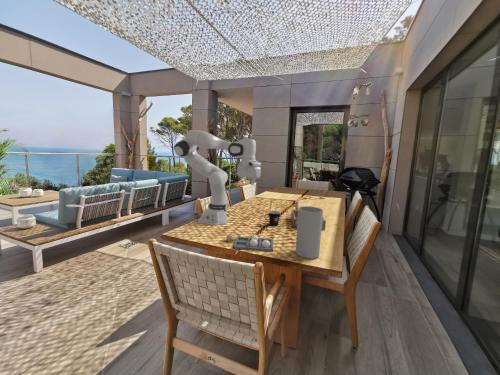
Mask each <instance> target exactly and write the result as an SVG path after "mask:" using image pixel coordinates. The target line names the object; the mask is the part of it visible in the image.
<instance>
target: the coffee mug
mask: <svg viewBox="0 0 500 375" xmlns="http://www.w3.org/2000/svg"><path fill="white" fill-rule="evenodd" d="M266 216H268V218H269V219H267V218H266ZM263 217H264V219H265V220H266V221H267V222H268V223H269V226H271V227H278V226H279V223H280V217H281V212H280V211H279V210H269V211H268V213H266V214H265V215H264V216H263Z"/></svg>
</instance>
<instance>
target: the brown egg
mask: <svg viewBox="0 0 500 375" xmlns="http://www.w3.org/2000/svg"><path fill="white" fill-rule="evenodd" d="M225 240H226V241H227V242H228V243H232V242H233V241H235V236H234V235H233V234H231V233H229V234H227V236H226V239H225Z"/></svg>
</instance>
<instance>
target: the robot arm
mask: <svg viewBox="0 0 500 375" xmlns="http://www.w3.org/2000/svg"><path fill="white" fill-rule="evenodd" d="M200 148H201V149H206V150H207V149H209V150H214V149H215V150H217V149H218V150H224V151H227V153H228V154H229V156H230V157H232V158H241V161H240V162H239V163H238V165H237V170H236V175H237V176H238V177H240V179H241V184H246V180H245V178H249V179H251V182H250V185H251V186H254V185H255V183H256V180H257V179H260V178H261V174H262V171H261V168H262V162H259V161H258V160H256V153H257V141H256V140H255V139H254V138H253V137H252V138H251V137H247V136H244V137H243V138H242V139H240V140H237V141H234V142H231V141H228V140H224V139H222V138H220V137H219V136H218V137H217V136H215V135H213V134H212V133H210V132H207V131H205V130H199V129H190V130H189V131H188V132H187V133H186V136H185V137H183V138H182V139H180V140H179V141H177V142H176V144H174V146H173V150H174V153H175V154H176V155H177V156H179V157H183V159H184V162H185V163H187V165H189V167H191V168H192V169H193V170H195V171H196V172H197V173H199V174H200V175H202V176H203V177H206V178H208V183H209V187H210V194H211V198H210V200H211V202H210V203H209V204H208V208H206V210H204V211H203V212H202V214H201V215H200V218H198V220H197V223H198V224H202V225H204V224H205V225H210V226H219V225H223V224H227V223H228V222H229V221H228V217H227V210H228V209H227V206H228V205H227V192H226V183H227V181H228V179H229V175H228V173H227V172H226V171H225V170H223V169H222V168H220V167H218V166H217V165H215V164H213V163H212V162H210V161H208V160H207V158H204V157H203V156H202V155H201V154H199V153H198V152H197V151H199V150H200Z"/></svg>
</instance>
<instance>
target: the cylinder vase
mask: <svg viewBox="0 0 500 375" xmlns="http://www.w3.org/2000/svg"><path fill="white" fill-rule="evenodd" d="M297 211H298V223H297V228H296V240H295V254H296V255H298V256H299V257H302V258H304V259H310V260H313V259H317V258H319V256H320V250H321V238H322V230H321V229H322V218H324V217H323V216H324V210H323V209H322V208H320V207H316V206H310V205H309V206H307V205H306V206H303V205H302V206H299V207H298V209H297Z"/></svg>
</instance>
